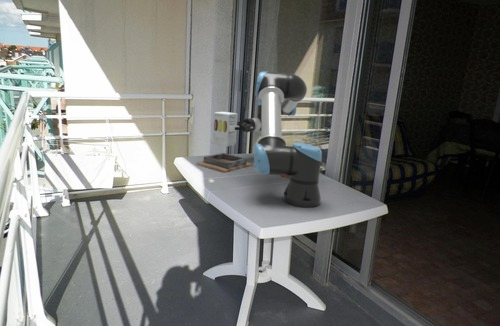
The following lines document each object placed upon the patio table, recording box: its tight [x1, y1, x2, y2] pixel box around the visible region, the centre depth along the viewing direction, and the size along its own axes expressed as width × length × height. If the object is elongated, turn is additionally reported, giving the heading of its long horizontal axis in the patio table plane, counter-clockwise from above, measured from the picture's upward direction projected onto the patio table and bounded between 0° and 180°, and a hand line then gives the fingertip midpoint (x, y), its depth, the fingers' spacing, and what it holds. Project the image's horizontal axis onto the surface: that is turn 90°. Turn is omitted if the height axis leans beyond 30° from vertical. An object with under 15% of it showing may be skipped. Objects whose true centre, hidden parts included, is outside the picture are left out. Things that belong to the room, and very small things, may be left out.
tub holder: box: [195, 152, 254, 174], centre depth 188 cm, size 24×20×4 cm
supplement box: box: [212, 111, 239, 147], centre depth 182 cm, size 10×9×17 cm
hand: (221, 126), depth 180 cm, fingers closed on supplement box, 11 cm apart
